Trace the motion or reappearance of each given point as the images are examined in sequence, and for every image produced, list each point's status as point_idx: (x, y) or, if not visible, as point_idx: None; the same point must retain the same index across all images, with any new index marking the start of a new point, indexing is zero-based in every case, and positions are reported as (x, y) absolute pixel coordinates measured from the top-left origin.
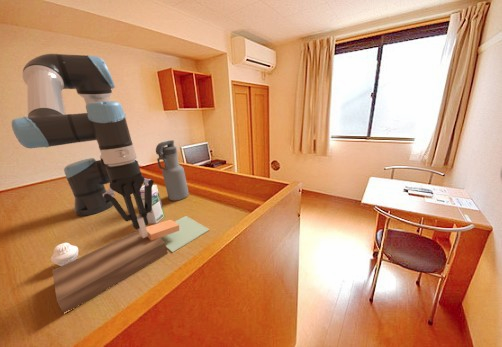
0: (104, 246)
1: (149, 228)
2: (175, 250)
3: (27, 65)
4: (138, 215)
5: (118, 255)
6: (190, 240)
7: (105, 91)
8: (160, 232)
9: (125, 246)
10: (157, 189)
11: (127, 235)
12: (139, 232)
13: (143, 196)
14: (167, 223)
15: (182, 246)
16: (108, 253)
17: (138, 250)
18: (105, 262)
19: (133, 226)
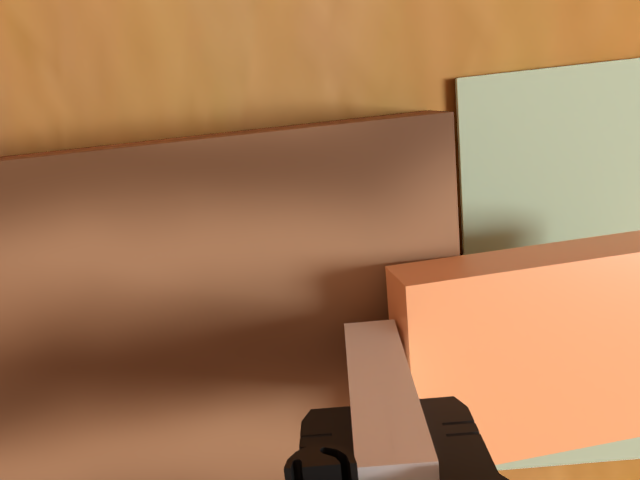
0: (35, 165)
1: (449, 342)
2: (497, 467)
3: None
4: (416, 468)
5: (139, 409)
6: (630, 454)
7: None
8: (502, 454)
9: (202, 324)
10: None
11: (246, 134)
12: (345, 338)
13: None
14: (632, 327)
15: (552, 463)
16: (69, 316)
17: (279, 465)
18: (49, 420)
19: (301, 433)
